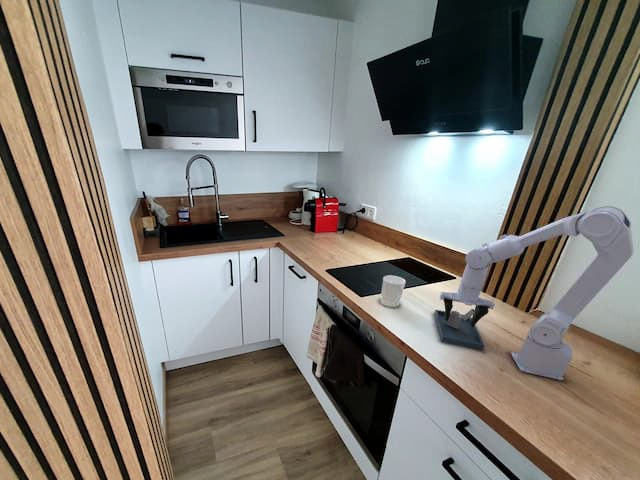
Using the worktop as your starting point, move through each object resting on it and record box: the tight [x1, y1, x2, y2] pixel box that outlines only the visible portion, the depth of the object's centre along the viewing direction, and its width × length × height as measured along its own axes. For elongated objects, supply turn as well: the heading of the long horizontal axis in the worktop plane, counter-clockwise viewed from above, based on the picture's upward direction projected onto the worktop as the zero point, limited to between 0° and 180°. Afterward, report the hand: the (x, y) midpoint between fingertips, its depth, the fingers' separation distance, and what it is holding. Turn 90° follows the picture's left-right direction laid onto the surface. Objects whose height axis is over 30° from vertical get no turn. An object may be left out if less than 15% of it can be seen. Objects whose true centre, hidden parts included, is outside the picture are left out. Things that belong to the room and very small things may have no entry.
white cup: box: [380, 274, 406, 308], centre depth 108 cm, size 8×8×10 cm
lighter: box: [445, 308, 476, 329], centre depth 93 cm, size 7×2×8 cm, turn 43°
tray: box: [433, 309, 485, 351], centre depth 94 cm, size 11×17×2 cm, turn 160°
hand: (458, 322), depth 93 cm, fingers closed on lighter, 7 cm apart
